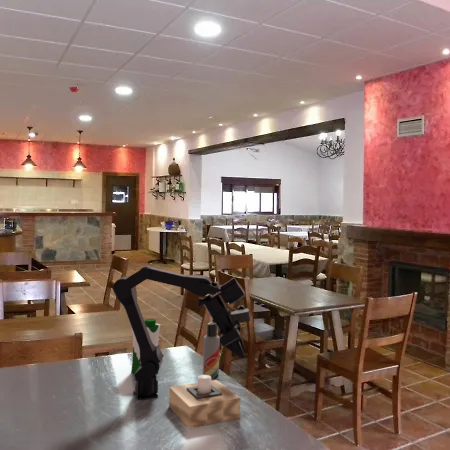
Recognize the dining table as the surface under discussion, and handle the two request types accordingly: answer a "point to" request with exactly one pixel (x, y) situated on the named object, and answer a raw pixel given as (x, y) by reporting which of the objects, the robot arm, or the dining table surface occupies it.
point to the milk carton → (153, 333)
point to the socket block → (204, 404)
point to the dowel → (204, 384)
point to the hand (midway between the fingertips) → (243, 353)
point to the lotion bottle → (211, 352)
